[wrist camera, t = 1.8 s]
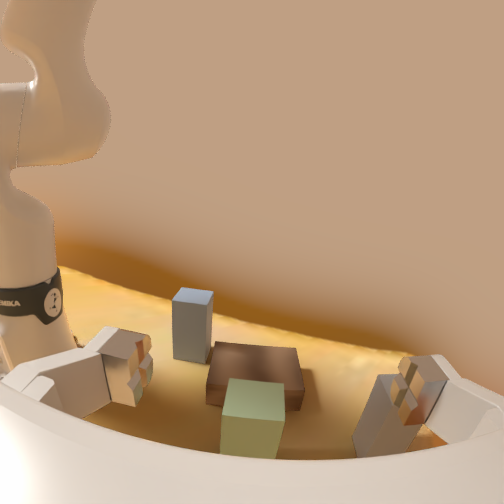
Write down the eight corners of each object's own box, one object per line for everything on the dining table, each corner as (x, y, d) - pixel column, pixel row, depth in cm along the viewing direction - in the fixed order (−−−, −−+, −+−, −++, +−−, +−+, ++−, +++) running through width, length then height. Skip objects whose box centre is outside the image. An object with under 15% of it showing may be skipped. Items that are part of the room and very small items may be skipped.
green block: (218, 476, 24) (221, 414, 21) (224, 442, 29) (229, 377, 26) (268, 481, 24) (285, 421, 21) (269, 447, 28) (283, 383, 26)
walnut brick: (205, 405, 35) (206, 383, 34) (214, 362, 44) (215, 341, 43) (298, 412, 35) (304, 390, 34) (291, 368, 45) (295, 347, 44)
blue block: (173, 358, 43) (171, 300, 41) (181, 342, 48) (181, 287, 46) (205, 363, 43) (207, 305, 41) (210, 346, 48) (213, 291, 46)
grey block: (359, 466, 25) (392, 405, 23) (351, 436, 30) (378, 374, 27) (398, 462, 25) (435, 401, 22) (388, 434, 30) (417, 373, 27)
